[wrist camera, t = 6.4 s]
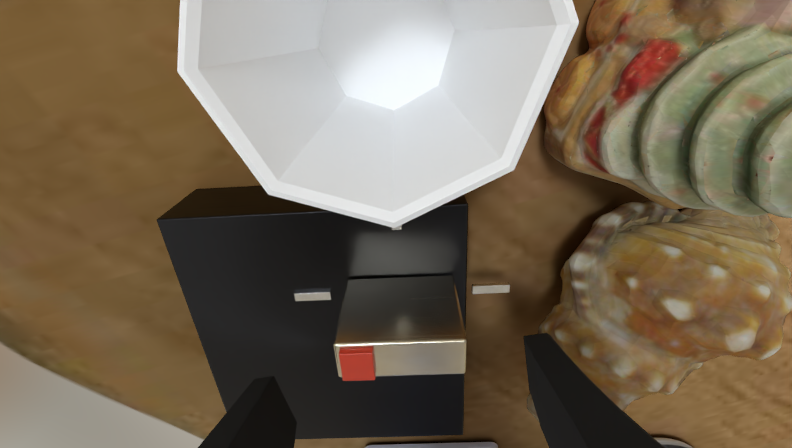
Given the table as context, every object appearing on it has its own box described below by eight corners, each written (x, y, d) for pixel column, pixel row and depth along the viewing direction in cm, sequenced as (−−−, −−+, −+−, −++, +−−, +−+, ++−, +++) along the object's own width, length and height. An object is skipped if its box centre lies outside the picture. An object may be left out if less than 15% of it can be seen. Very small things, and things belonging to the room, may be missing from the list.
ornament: (616, -92, 12) (1194, -421, 3) (786, -31, 13) (1655, -166, 4) (515, 149, 16) (664, 308, 7) (654, 188, 16) (959, 382, 7)
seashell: (631, 301, 23) (628, 493, 16) (517, 223, 22) (468, 391, 16) (832, 220, 16) (967, 503, 9) (672, 101, 15) (698, 316, 9)
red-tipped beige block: (453, 274, 15) (468, 346, 11) (453, 304, 15) (467, 381, 12) (347, 278, 15) (330, 351, 12) (350, 308, 16) (336, 385, 12)
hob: (485, 383, 21) (497, 437, 19) (257, 390, 22) (235, 444, 19) (497, 158, 16) (518, 186, 13) (191, 175, 16) (147, 205, 14)
